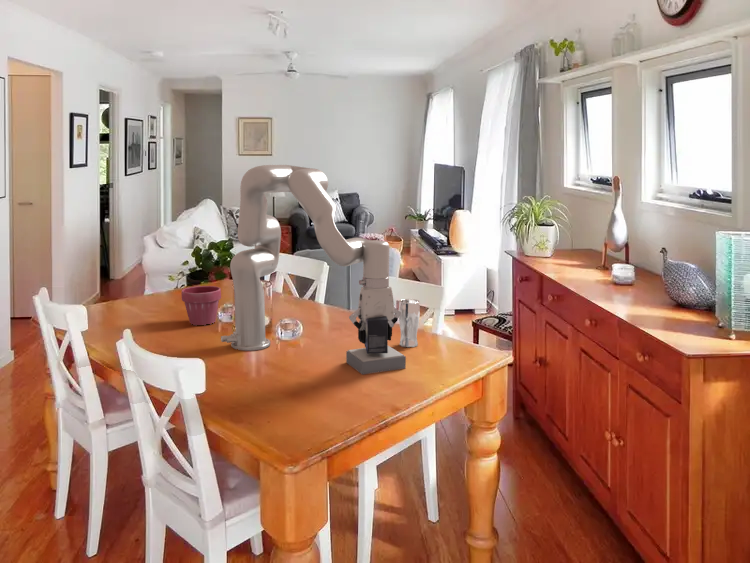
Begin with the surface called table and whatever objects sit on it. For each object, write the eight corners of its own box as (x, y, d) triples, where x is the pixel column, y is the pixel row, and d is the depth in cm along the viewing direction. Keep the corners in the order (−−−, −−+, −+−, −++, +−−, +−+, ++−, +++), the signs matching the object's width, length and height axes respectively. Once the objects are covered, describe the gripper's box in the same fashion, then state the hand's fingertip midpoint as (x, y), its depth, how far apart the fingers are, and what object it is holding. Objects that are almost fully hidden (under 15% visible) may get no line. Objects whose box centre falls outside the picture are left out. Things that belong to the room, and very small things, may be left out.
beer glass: (421, 343, 222) (422, 299, 219) (415, 349, 216) (416, 304, 213) (401, 341, 224) (402, 298, 222) (395, 346, 218) (396, 302, 215)
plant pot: (186, 318, 253) (184, 285, 250) (224, 317, 254) (222, 285, 252) (179, 328, 239) (178, 293, 236) (219, 327, 240) (218, 292, 238)
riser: (362, 374, 191) (362, 361, 190) (346, 362, 201) (346, 349, 201) (405, 368, 196) (405, 355, 196) (387, 356, 207) (388, 344, 206)
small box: (362, 343, 203) (362, 310, 201) (383, 343, 204) (384, 309, 202) (366, 354, 193) (366, 319, 191) (388, 353, 193) (389, 318, 191)
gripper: (353, 287, 187) (353, 347, 191) (408, 283, 194) (406, 341, 198) (343, 282, 194) (343, 340, 197) (396, 278, 201) (395, 334, 204)
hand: (375, 340), depth 198 cm, fingers closed on small box, 7 cm apart
